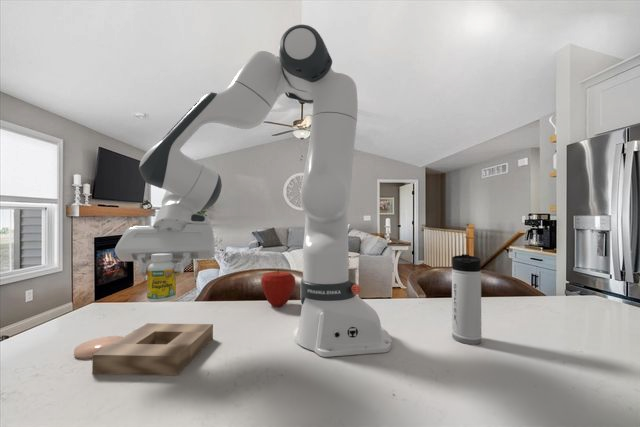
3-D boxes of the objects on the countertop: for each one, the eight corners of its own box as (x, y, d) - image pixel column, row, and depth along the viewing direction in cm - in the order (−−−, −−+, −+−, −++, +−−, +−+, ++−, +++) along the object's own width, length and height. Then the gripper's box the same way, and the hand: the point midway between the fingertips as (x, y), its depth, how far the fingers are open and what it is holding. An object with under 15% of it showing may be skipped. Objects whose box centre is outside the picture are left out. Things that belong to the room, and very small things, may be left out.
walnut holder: (212, 338, 68) (213, 324, 68) (177, 375, 52) (177, 356, 52) (147, 338, 68) (147, 323, 69) (92, 373, 53) (92, 354, 53)
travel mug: (480, 336, 70) (479, 254, 71) (482, 347, 64) (482, 258, 65) (452, 331, 73) (451, 253, 73) (452, 341, 67) (451, 256, 67)
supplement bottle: (174, 294, 64) (174, 252, 64) (177, 300, 60) (178, 254, 60) (146, 298, 61) (147, 253, 62) (147, 304, 57) (148, 256, 57)
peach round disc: (134, 340, 67) (134, 336, 67) (104, 359, 58) (105, 354, 58) (97, 340, 67) (97, 335, 67) (62, 358, 58) (62, 353, 58)
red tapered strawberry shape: (301, 304, 96) (301, 268, 97) (280, 312, 87) (280, 273, 88) (276, 299, 102) (276, 265, 103) (254, 306, 93) (254, 270, 93)
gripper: (122, 217, 65) (99, 266, 56) (216, 217, 70) (209, 262, 60) (131, 235, 70) (110, 284, 60) (218, 234, 74) (212, 279, 64)
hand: (161, 273), depth 60 cm, fingers closed on supplement bottle, 5 cm apart
